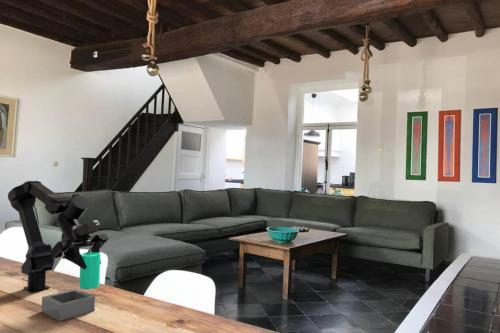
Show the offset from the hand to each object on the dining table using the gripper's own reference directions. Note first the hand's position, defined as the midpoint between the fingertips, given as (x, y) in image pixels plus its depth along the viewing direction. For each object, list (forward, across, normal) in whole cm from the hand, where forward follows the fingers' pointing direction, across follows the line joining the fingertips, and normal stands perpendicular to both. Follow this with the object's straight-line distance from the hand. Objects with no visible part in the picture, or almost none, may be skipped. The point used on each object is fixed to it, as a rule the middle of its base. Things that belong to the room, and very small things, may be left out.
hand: (92, 266), depth 124 cm
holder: (+7, -6, +11) cm, 15 cm away
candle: (+4, 0, +6) cm, 7 cm away
